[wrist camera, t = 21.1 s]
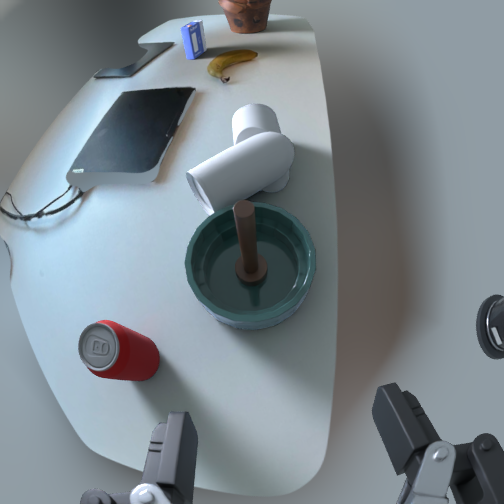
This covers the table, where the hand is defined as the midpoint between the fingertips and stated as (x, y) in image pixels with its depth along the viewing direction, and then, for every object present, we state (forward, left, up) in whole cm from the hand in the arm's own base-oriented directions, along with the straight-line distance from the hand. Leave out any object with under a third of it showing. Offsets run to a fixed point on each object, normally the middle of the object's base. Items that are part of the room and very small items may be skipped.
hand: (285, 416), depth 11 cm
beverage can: (+19, -3, -27) cm, 33 cm away
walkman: (+26, -88, -27) cm, 95 cm away
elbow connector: (+7, -35, -27) cm, 45 cm away
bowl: (+4, -17, -27) cm, 32 cm away
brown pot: (+12, -111, -27) cm, 115 cm away
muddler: (+4, -17, -26) cm, 31 cm away
